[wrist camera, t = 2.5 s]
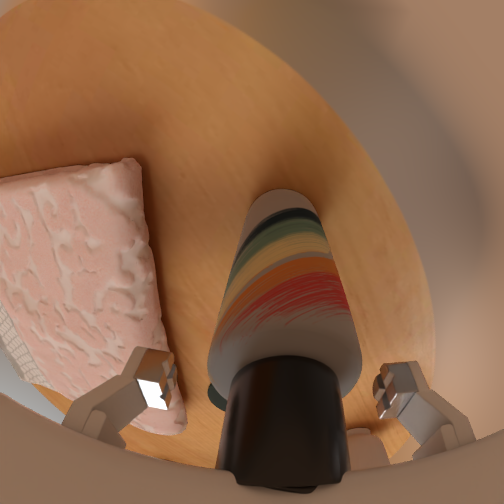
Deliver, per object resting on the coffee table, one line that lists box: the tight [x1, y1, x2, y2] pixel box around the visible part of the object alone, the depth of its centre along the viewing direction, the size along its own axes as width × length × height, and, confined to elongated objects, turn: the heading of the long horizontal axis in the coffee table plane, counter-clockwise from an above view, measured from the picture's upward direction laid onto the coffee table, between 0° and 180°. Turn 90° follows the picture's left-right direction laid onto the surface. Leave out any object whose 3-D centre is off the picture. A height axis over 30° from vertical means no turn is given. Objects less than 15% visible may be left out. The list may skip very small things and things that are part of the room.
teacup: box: [347, 428, 390, 471], centre depth 34 cm, size 12×15×10 cm
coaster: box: [208, 383, 227, 412], centre depth 34 cm, size 10×10×1 cm
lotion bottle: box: [207, 189, 362, 494], centre depth 14 cm, size 6×6×20 cm
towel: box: [0, 158, 188, 435], centre depth 28 cm, size 36×34×6 cm
